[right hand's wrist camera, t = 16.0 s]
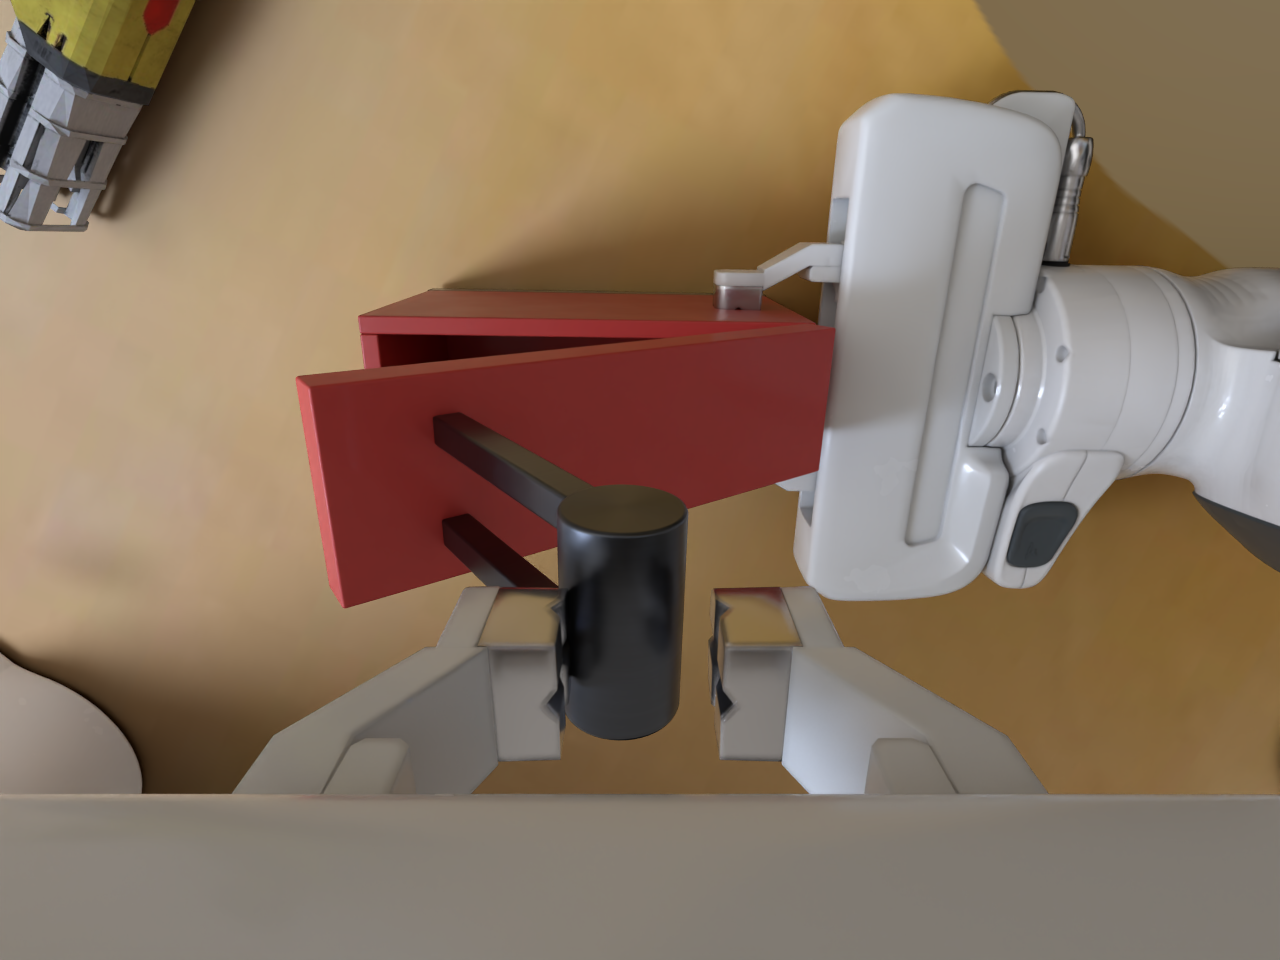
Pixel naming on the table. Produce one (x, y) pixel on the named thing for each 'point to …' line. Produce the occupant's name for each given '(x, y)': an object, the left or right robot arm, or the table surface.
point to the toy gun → (75, 98)
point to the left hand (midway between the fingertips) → (709, 370)
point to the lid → (564, 483)
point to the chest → (543, 322)
